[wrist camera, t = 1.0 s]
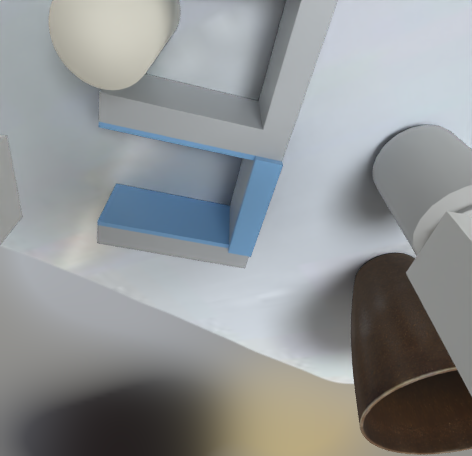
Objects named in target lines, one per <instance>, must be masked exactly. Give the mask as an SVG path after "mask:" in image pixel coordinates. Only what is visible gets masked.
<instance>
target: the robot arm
mask: <svg viewBox="0 0 472 456" xmlns="http://www.w3.org/2000/svg"><path fill="white" fill-rule="evenodd" d="M22 217H23V216H22V211H21V206H20V200H19V195H18V190H17V185H16V179H15V174H14V169H13V164H12V158H11V153H10V148H9V143H8V137H7V136H5V135H0V245H1V244H2V242H3V241H4V240H5V239H6V237H7V236H8V235H9V233H10V232H11V231H12V230H13V228H14V227H15V226H16V225H17V223H18V222H19V221H20V220H21V218H22ZM406 274H407V276H408V278H409V280H410V282H411V284H412V285H413V287H414V289H415V291H416V293H417V295H418V297H419V299H420V300H421V302H422V304H423V306H424V308H425V310H426V312H427V314H428V315H429V317H430V319H431V321H432V323H433V325H434V327H435V329H436V331H437V332H438V334H439V336H440V338H441V340H442V342H443V344H444V346H445V347H446V349H447V351H448V353H449V355H450V357H451V359H452V361H453V362H454V364H455V366H456V368H457V370H458V372H459V374H460V376H461V377H462V379H463V381H464V383H465V385H466V387H467V389H468V391H469V392H470V394H471V396H472V218H471V217H470V216H469V215H467V214H461V213H455V212H449V211H446V213H445V214H444V216H443V217H442V219H441V220H440V222H439V223H438V225H437V227H436V228H435V230H434V231H433V233H432V234H431V236H430V237H429V239H428V240H427V242H426V243H425V245H424V246H423V248H422V249H421V251H420V252H419V254H418V255H417V257H416V258H415V260H414V261H413V263H412V264H411V266H410V267H409V269H408V270H407V272H406Z"/></svg>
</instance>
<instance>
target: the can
mask: <svg viewBox="0 0 472 456" xmlns="http://www.w3.org/2000/svg"><path fill="white" fill-rule="evenodd" d="M373 181H374V183H375V185H376V188H377V190H378V191H379V193H380V195H381V196H382V198H383V200H384V201H385V203H386V205H387V206H388V208H389V210H390V211H391V213H392V215H393V217H394V218H395V220H396V222H397V223H398V225H399V227H400V228H401V230H402V232H403V233H404V235H405V237H406V238H407V240H408V242H409V243H410V245H411V247H412V249H413V250H414V252H415V254H416V255H418V254H419V252H420V251H421V249H422V248H423V246H424V245H425V243H426V242H427V240H428V239H429V237H430V236H431V234H432V233H433V231H434V230H435V228H436V227H437V225H438V223H439V222H440V220H441V219H442V217H443V216H444V214H445V213H446V211H449V212H455V213H461V214H467V215H469V216H470V217H471V218H472V149H471V148H470V147H468V146H467V145H466V144H465V143H464V142H463V141H461V140H460V139H459V138H458V137H457V136H455V135H454V134H453V133H452V132H451V131H449V130H447V129H445V128H443V127H441V126H436V125H421V126H417V127H412V128H409V129H407V130H405V131H403V132H401V133H399V134H397V135H396V136H395V137H393V138H392V139H391V140H390V141H389V142H387V143H386V144H385V145H384V147H383V148H382V150H381V151H380V152H379V154H378V155H377V157H376V160H375V163H374V166H373Z"/></svg>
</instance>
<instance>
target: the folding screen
mask: <svg viewBox="0 0 472 456" xmlns="http://www.w3.org/2000/svg"><path fill="white" fill-rule="evenodd" d="M337 2H338V0H286V3H285V6H284V10H283V14H282V17H281V21H280V25H279V28H278V32H277V35H276V39H275V43H274V46H273V50H272V54H271V57H270V61H269V65H268V68H267V72H266V76H265V79H264V83H263V87H262V90H261V94H260V97H259V101H257V100H252V99H248V98H244V97H240V96H236V95H232V94H227V93H223V92H219V91H215V90H211V89H207V88H202V87H198V86H194V85H190V84H186V83H182V82H178V81H173V80H169V79H165V78H161V77H157V76H153V75H148V74H145V75H144V76H143V77H142V78H141V79H140V80H139V81H138V82H137V83H135V84H133V85H132V86H130V87H127V88H124V89H120V90H105V89H102V90H101V91H100V92H99V127H101V128H105V129H110V130H114V131H119V132H124V133H128V134H133V135H138V136H142V137H147V138H151V139H156V140H161V141H165V142H170V143H175V144H179V145H184V146H189V147H193V148H198V149H202V150H207V151H212V152H216V153H221V154H226V155H230V156H235V157H240V158H243V159H242V163H241V167H240V170H239V174H238V178H237V181H236V185H235V189H234V192H233V196H232V200H231V203H230V206H228V205H223V204H218V203H213V202H208V201H203V200H198V199H192V198H187V197H182V196H177V195H172V194H167V193H162V192H157V191H152V190H146V189H141V188H136V187H131V186H126V185H121V184H116V185H115V187H114V189H113V191H112V193H111V195H110V197H109V199H108V201H107V203H106V205H105V207H104V209H103V211H102V213H101V215H100V217H99V219H98V231H97V243H99V244H105V245H111V246H116V247H122V248H128V249H134V250H140V251H146V252H151V253H157V254H163V255H169V256H175V257H181V258H187V259H192V260H198V261H204V262H210V263H216V264H222V265H227V266H233V267H239V268H245V267H246V264H247V261H248V258H249V257H251V255H252V252H253V249H254V246H255V243H256V240H257V238H258V235H259V232H260V229H261V226H262V223H263V220H264V218H265V215H266V212H267V209H268V206H269V203H270V201H271V198H272V195H273V192H274V189H275V186H276V184H277V181H278V178H279V175H280V172H281V169H282V166H283V164H282V160H283V157H284V154H285V151H286V149H287V146H288V143H289V140H290V137H291V134H292V131H293V128H294V126H295V123H296V120H297V117H298V114H299V111H300V108H301V105H302V102H303V100H304V97H305V94H306V91H307V88H308V85H309V82H310V79H311V77H312V74H313V71H314V68H315V65H316V62H317V59H318V56H319V54H320V51H321V48H322V45H323V42H324V39H325V36H326V33H327V31H328V28H329V25H330V22H331V19H332V16H333V13H334V10H335V7H336V5H337Z"/></svg>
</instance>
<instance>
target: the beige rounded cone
mask: <svg viewBox="0 0 472 456" xmlns="http://www.w3.org/2000/svg"><path fill="white" fill-rule="evenodd" d="M179 20H180V2H179V0H53V1H52V3H51V7H50V11H49V31H50V36H51V40H52V43H53V45H54V48H55V50H56V52H57V54H58V56H59V57H60V59H61V60H62V62H63V63H64V64H65V66H66V67H67V68H68V69H69V70H70V71H71V72H72V73H73V74H74V75H75V76H76V77H78V78H79V79H81V80H82V81H84V82H85V83H87V84H89V85H91V86H94V87H96V88H100V89H105V90H120V89H124V88H127V87H130V86H132V85H133V84H135V83H137V82H138V81H139V80H140V79H141V78H142V77H143V76H144V75H145V73H146V72H147V70H148V69H149V68H150V66H151V65H152V63H153V62H154V60H155V59H156V58H157V56H158V55H159V53H160V52H161V51H162V49H163V48H164V46H165V45H166V44H167V42H168V41H169V39H170V38H171V36H172V35H173V34H174V32H175V31H176V29H177V26H178V24H179Z"/></svg>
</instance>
